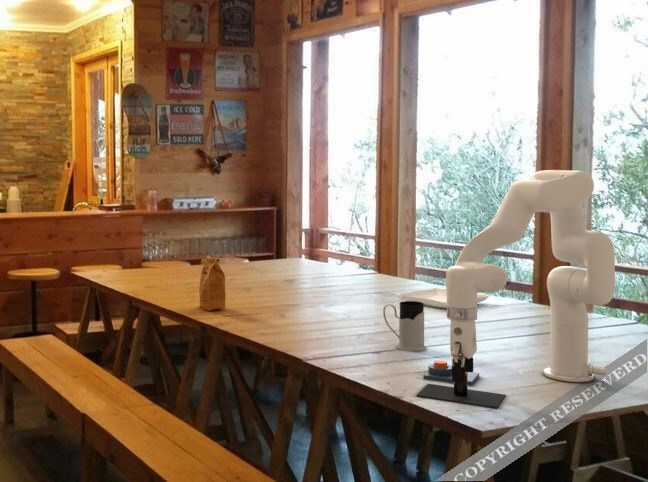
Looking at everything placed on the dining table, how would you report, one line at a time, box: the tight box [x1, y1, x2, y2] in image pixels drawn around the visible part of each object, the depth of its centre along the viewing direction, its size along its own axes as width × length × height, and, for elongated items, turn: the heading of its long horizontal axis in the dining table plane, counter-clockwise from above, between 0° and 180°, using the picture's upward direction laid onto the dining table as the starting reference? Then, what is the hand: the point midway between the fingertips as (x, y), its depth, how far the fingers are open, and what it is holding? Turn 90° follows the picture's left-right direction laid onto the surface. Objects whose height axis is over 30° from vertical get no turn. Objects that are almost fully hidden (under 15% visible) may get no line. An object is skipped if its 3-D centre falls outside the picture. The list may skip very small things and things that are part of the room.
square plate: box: [396, 287, 490, 309], centre depth 336 cm, size 27×27×4 cm
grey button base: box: [423, 363, 480, 387], centre depth 226 cm, size 13×10×3 cm
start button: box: [433, 359, 448, 369], centre depth 228 cm, size 4×4×2 cm
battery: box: [453, 371, 469, 397], centre depth 210 cm, size 3×3×6 cm
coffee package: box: [198, 255, 227, 312], centre depth 334 cm, size 10×12×22 cm
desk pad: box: [416, 383, 507, 410], centre depth 210 cm, size 20×12×1 cm, turn 56°
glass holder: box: [382, 300, 427, 352], centre depth 263 cm, size 9×14×15 cm, turn 48°
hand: (462, 376), depth 210 cm, fingers open, 9 cm apart
